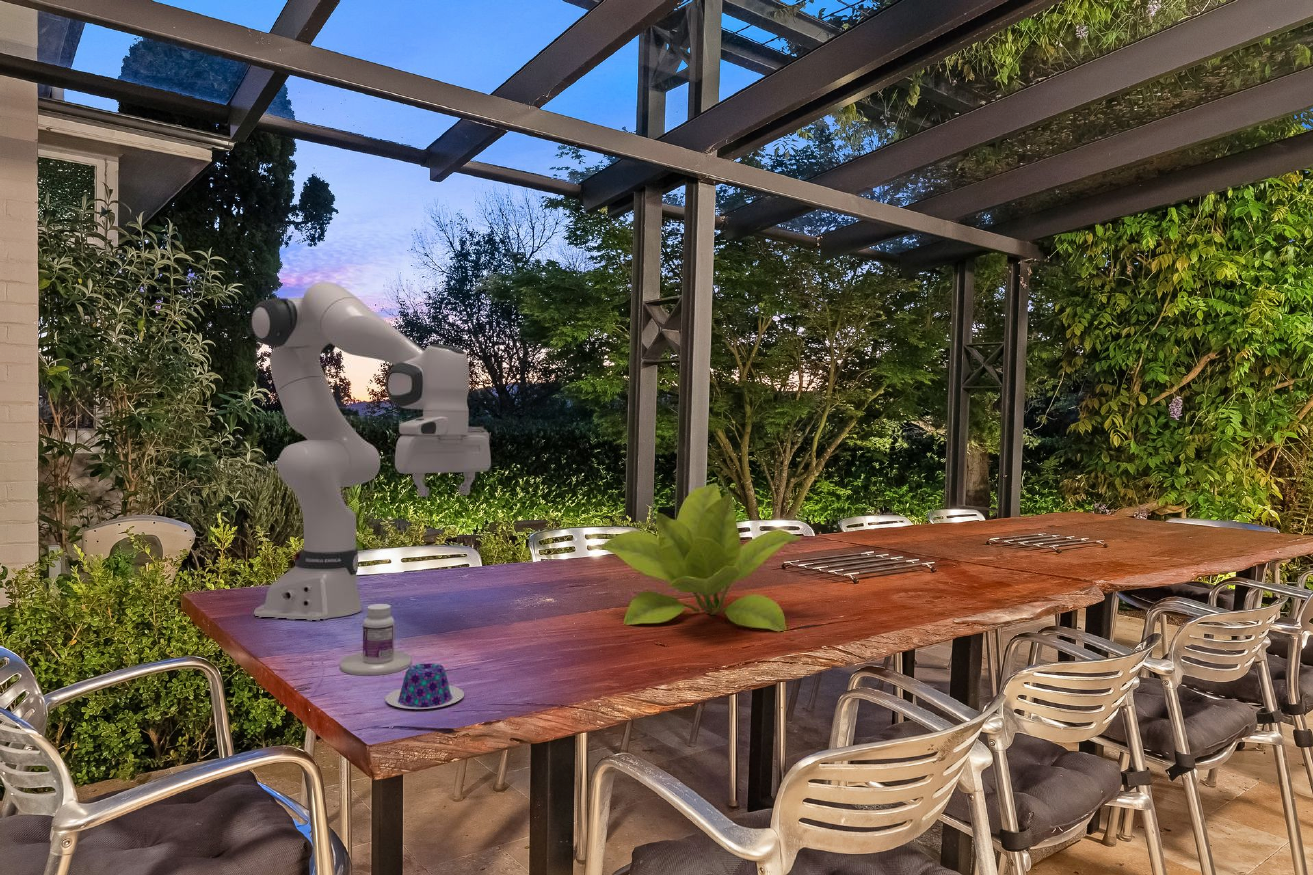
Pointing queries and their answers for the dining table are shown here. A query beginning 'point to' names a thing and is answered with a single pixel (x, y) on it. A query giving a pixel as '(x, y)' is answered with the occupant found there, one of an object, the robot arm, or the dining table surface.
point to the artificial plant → (700, 562)
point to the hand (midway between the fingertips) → (444, 495)
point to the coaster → (375, 665)
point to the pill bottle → (378, 634)
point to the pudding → (425, 688)
